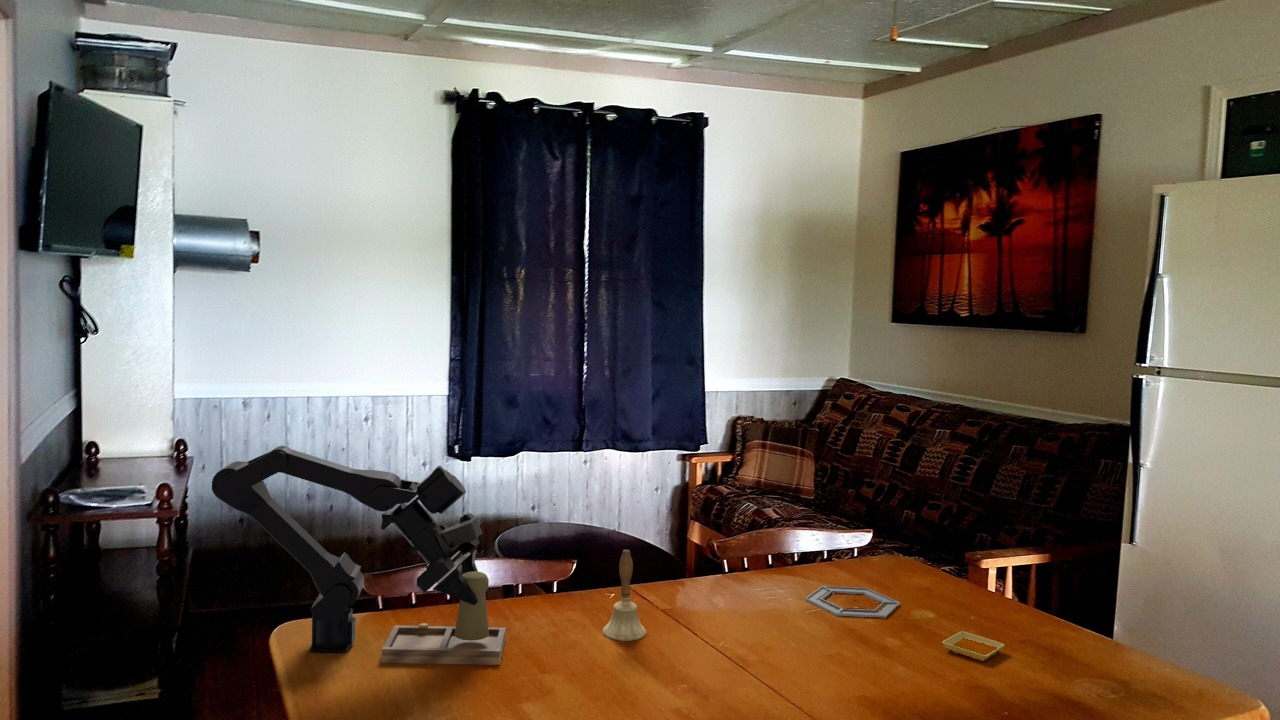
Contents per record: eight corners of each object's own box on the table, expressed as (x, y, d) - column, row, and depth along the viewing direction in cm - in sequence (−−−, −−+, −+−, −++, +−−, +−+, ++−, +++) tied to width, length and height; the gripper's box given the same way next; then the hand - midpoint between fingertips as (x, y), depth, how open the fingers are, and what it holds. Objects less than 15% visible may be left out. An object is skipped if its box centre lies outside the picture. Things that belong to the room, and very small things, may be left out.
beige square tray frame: (1005, 654, 178) (1006, 643, 177) (985, 666, 171) (986, 655, 171) (961, 641, 184) (961, 630, 183) (940, 652, 177) (941, 641, 177)
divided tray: (380, 662, 161) (381, 647, 161) (395, 636, 173) (395, 622, 173) (499, 664, 162) (499, 650, 162) (505, 638, 174) (505, 624, 174)
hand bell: (628, 644, 174) (631, 559, 172) (593, 633, 179) (596, 550, 177) (655, 632, 180) (658, 550, 179) (620, 621, 185) (623, 541, 184)
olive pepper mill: (486, 641, 165) (488, 579, 164) (451, 639, 165) (453, 577, 164) (491, 628, 171) (493, 568, 170) (457, 627, 171) (460, 567, 170)
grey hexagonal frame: (910, 620, 193) (910, 616, 193) (811, 616, 194) (812, 612, 193) (889, 593, 210) (890, 589, 210) (799, 588, 211) (799, 584, 211)
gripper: (437, 515, 157) (499, 586, 157) (470, 491, 175) (526, 554, 175) (390, 557, 159) (451, 628, 158) (427, 529, 177) (483, 592, 177)
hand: (480, 598), depth 167 cm, fingers closed on olive pepper mill, 5 cm apart
